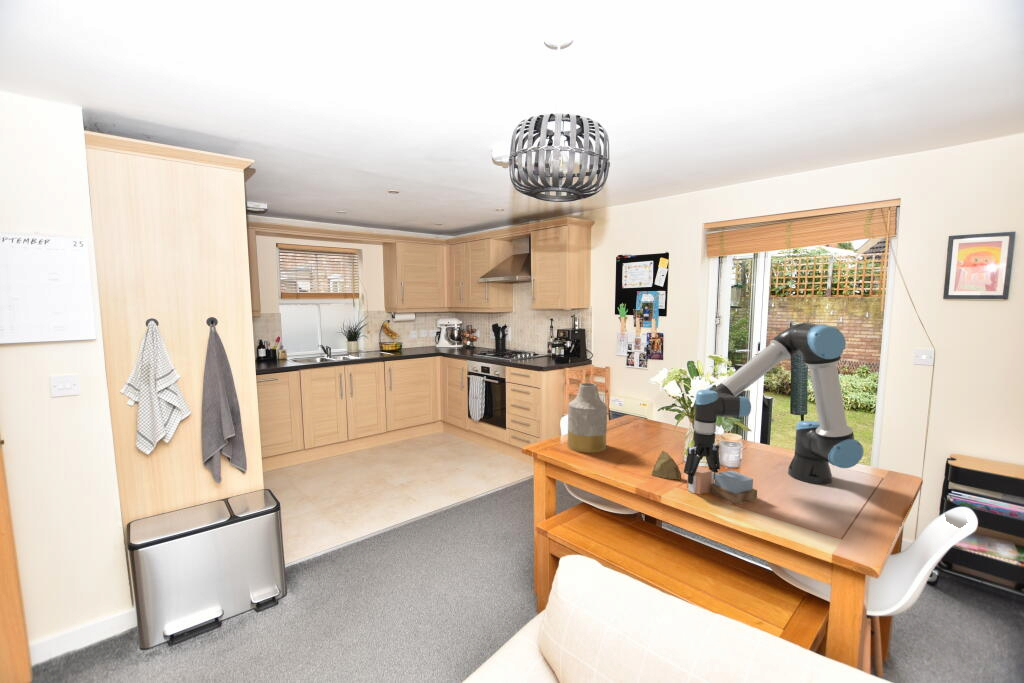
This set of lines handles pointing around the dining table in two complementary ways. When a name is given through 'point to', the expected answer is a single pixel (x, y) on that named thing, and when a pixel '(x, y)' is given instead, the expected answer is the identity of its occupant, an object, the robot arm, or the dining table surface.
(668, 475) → the rock
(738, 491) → the tower top
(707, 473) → the block
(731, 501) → the tower base
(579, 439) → the vase
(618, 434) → the dining table surface
